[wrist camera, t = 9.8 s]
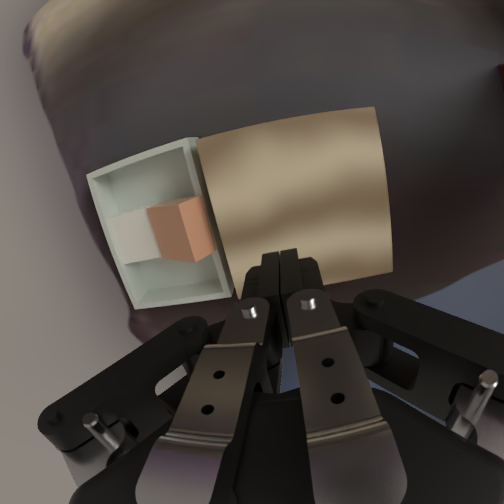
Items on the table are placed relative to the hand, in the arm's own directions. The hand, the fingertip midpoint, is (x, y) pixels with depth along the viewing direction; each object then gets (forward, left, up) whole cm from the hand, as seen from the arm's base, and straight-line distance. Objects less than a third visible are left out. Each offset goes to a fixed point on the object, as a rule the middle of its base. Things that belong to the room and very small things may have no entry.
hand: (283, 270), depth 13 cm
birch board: (0, +2, -16) cm, 16 cm away
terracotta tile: (0, -8, -13) cm, 16 cm away
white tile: (0, -14, -13) cm, 19 cm away
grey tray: (0, -12, -16) cm, 20 cm away
